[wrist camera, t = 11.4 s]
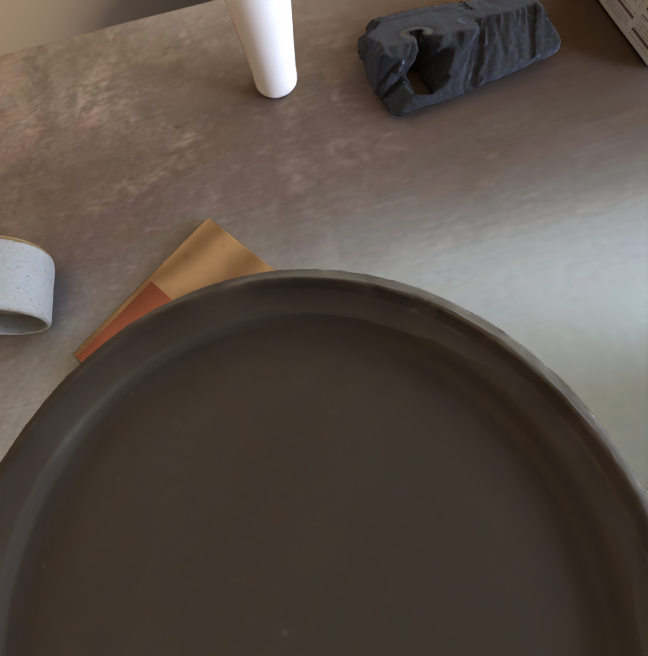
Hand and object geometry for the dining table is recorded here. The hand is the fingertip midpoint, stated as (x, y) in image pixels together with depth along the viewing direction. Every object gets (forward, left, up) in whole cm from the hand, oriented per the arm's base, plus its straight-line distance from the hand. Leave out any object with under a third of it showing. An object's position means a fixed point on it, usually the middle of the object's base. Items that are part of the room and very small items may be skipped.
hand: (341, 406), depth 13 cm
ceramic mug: (+34, +14, -19) cm, 41 cm away
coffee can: (-2, +3, -6) cm, 6 cm away
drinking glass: (+32, -25, -19) cm, 45 cm away
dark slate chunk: (+17, -41, -19) cm, 48 cm away
